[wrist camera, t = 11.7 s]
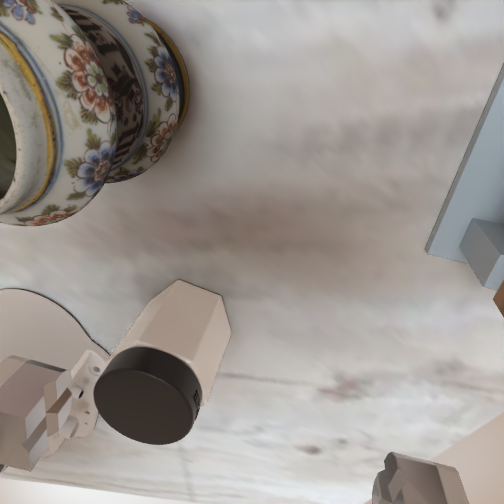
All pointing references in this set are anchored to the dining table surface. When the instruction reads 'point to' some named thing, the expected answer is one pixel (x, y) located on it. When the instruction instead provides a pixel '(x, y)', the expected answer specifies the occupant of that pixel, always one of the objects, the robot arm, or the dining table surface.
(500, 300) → the walnut bar
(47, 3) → the apothecary jar
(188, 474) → the dining table surface
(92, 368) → the robot arm
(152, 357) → the jar
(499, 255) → the cradle stand
